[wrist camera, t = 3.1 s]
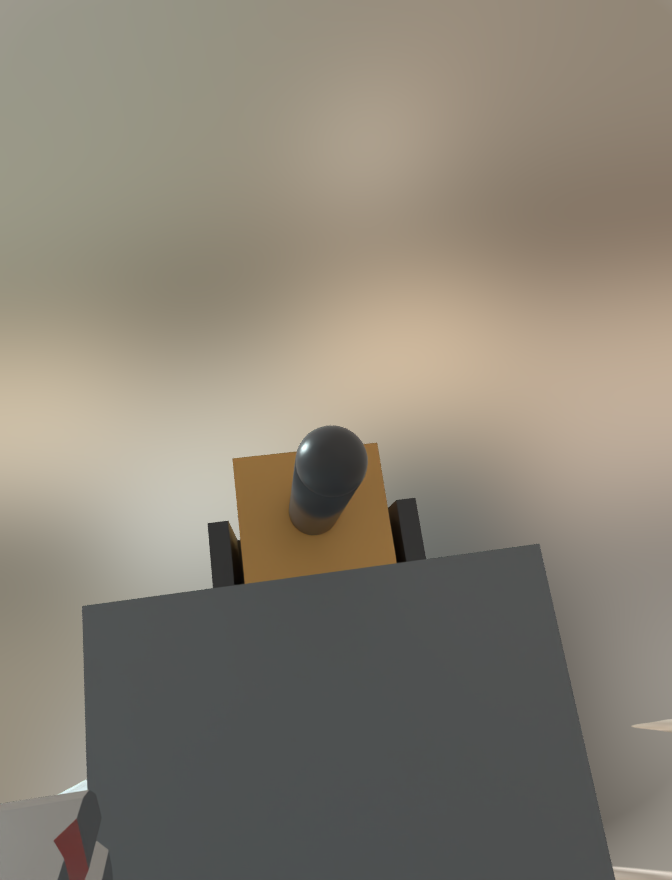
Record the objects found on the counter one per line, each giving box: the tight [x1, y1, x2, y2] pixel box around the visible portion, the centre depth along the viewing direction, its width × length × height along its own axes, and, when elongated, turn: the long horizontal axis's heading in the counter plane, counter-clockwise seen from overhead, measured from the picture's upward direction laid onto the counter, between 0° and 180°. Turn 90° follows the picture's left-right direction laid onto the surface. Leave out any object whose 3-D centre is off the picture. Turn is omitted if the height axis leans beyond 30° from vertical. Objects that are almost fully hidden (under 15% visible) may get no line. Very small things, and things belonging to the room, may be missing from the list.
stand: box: [82, 498, 615, 880], centre depth 25 cm, size 18×8×28 cm, turn 95°
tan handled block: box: [233, 426, 397, 584], centre depth 23 cm, size 6×15×5 cm, turn 5°
